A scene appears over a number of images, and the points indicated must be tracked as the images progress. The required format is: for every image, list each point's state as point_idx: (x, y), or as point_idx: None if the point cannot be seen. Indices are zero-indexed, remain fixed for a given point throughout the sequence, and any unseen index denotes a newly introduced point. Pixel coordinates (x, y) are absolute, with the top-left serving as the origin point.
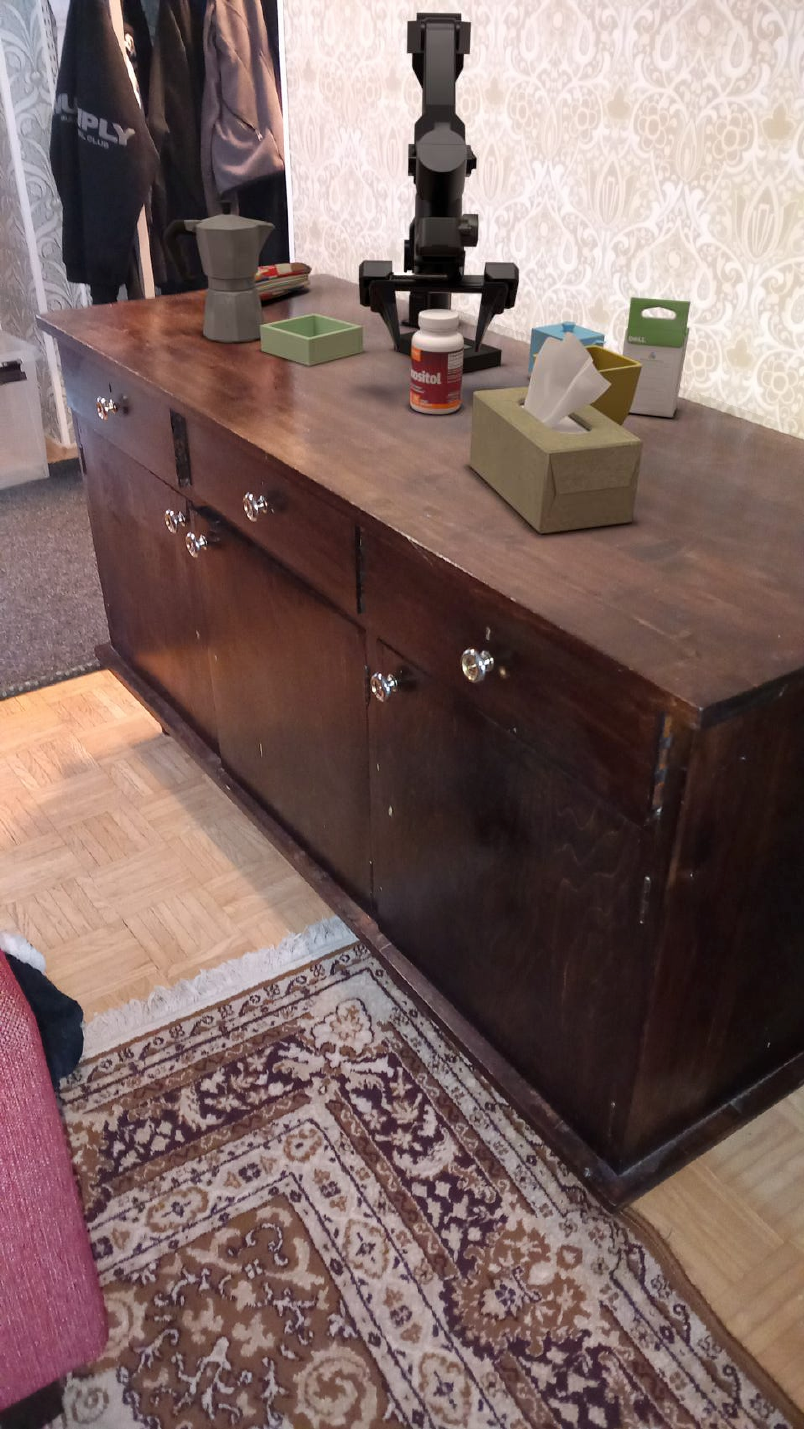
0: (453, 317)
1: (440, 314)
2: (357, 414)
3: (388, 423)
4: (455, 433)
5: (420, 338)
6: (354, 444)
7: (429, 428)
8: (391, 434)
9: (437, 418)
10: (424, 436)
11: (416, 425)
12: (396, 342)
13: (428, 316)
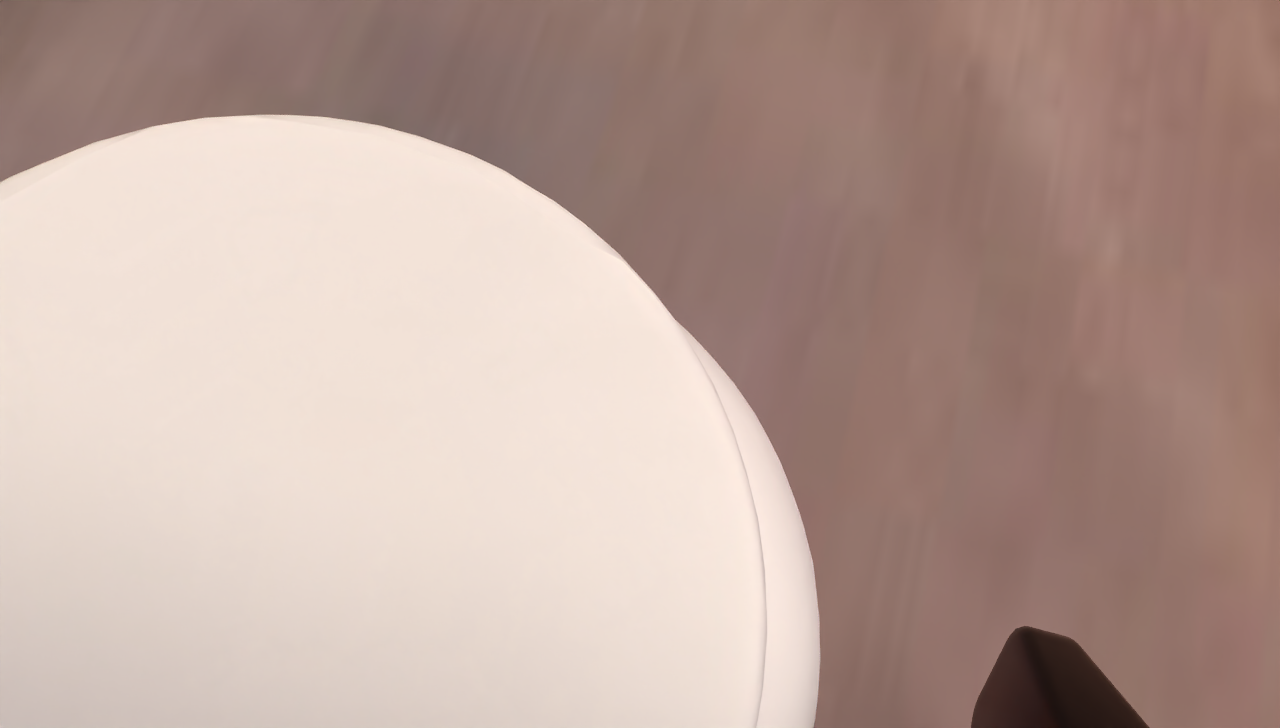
0: (7, 189)
1: (208, 520)
2: (1192, 621)
3: (970, 354)
4: (534, 56)
5: (737, 442)
6: (1263, 6)
7: (688, 187)
8: (987, 129)
9: None
10: (765, 47)
11: (767, 267)
12: (1090, 666)
13: (587, 370)
